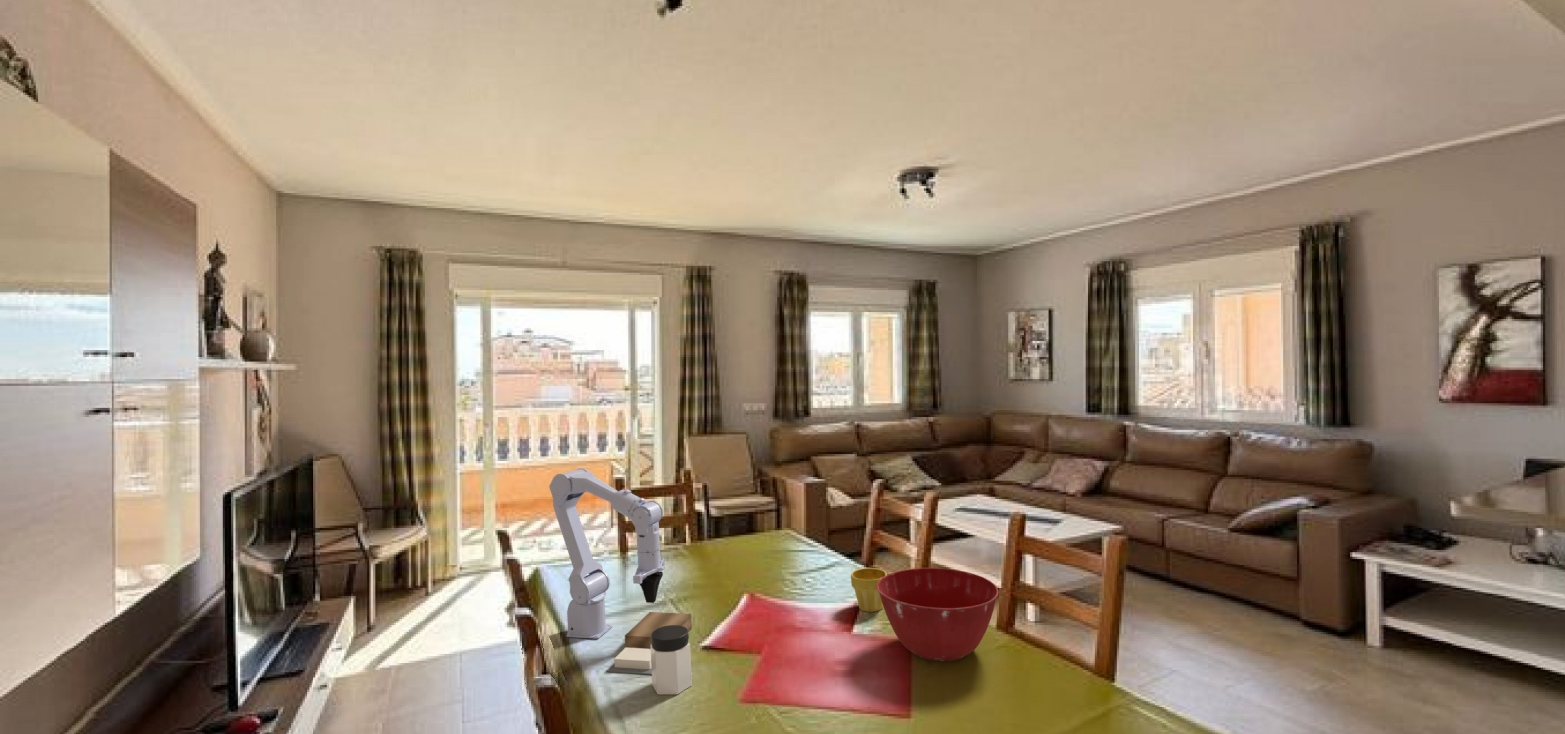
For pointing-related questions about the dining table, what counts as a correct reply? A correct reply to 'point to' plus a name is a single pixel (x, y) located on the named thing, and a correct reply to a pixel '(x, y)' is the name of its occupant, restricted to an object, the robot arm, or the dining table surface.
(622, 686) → the dining table surface
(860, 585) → the plant pot
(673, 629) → the jar
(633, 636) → the plate
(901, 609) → the mixing bowl
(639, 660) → the cream rectangular block
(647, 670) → the mat
